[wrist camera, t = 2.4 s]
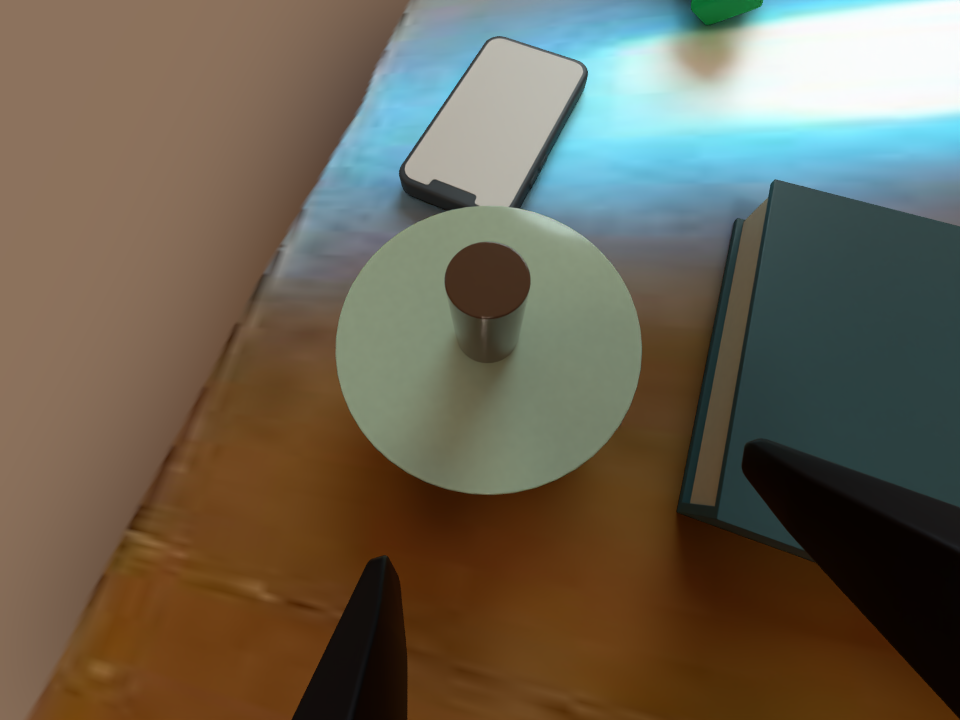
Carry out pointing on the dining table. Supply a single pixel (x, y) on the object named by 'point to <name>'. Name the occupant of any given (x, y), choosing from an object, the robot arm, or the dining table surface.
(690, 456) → the book
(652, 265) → the dining table surface
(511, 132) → the smartphone
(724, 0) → the building blocks
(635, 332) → the cover
